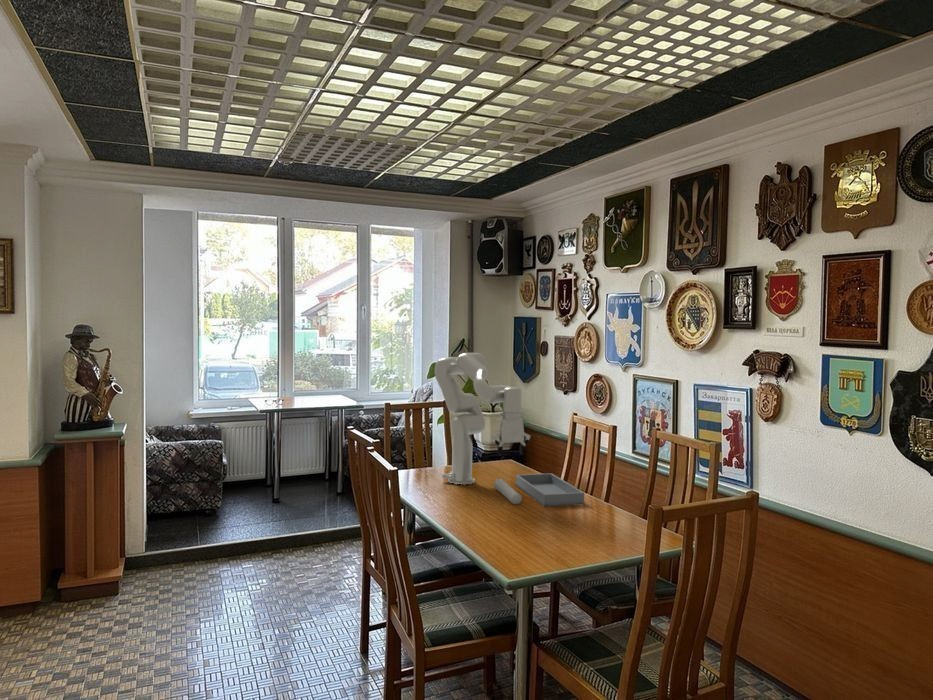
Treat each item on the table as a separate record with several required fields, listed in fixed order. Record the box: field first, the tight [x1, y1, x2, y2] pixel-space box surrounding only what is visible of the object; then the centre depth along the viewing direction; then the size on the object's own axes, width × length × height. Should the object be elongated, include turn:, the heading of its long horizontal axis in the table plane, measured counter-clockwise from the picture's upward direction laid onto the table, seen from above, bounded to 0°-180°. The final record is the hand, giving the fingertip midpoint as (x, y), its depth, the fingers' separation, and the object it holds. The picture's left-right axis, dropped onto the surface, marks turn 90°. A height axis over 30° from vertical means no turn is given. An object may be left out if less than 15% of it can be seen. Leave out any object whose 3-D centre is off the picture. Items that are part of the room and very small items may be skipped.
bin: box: [515, 472, 585, 508], centre depth 275 cm, size 18×34×5 cm, turn 16°
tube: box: [493, 478, 522, 505], centre depth 270 cm, size 5×5×25 cm
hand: (511, 455), depth 269 cm, fingers open, 9 cm apart
